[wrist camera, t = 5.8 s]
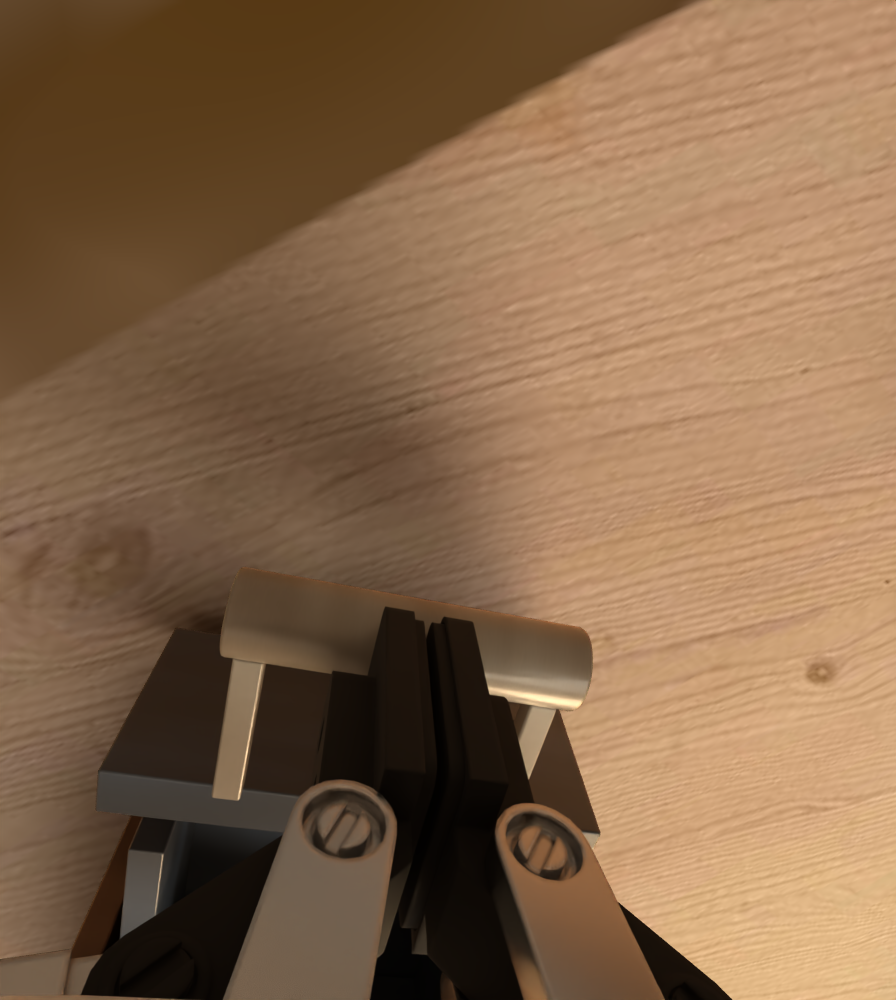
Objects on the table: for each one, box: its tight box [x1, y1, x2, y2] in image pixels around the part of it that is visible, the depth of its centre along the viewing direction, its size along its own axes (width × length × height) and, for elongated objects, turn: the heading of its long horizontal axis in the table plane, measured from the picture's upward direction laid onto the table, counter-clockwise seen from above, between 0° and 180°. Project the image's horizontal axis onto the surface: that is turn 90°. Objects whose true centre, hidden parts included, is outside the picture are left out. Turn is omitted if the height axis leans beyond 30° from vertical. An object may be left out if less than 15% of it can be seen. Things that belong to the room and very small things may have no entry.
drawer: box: [96, 567, 600, 1000], centre depth 18 cm, size 19×11×6 cm, turn 166°
